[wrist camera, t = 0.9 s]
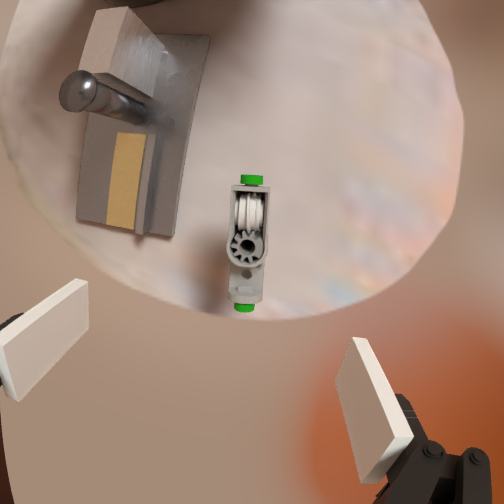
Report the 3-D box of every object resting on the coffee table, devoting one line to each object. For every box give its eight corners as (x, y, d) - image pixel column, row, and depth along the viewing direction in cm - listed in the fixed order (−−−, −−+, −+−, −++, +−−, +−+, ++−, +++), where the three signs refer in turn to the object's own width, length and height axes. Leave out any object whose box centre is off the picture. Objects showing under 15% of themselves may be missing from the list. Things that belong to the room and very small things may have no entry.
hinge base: (111, 39, 28) (52, -3, 15) (210, 39, 28) (181, -22, 15) (80, 217, 33) (8, 241, 21) (174, 234, 33) (124, 270, 21)
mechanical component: (236, 271, 34) (224, 312, 24) (241, 173, 31) (229, 174, 21) (264, 273, 34) (262, 315, 24) (271, 175, 31) (272, 176, 21)
